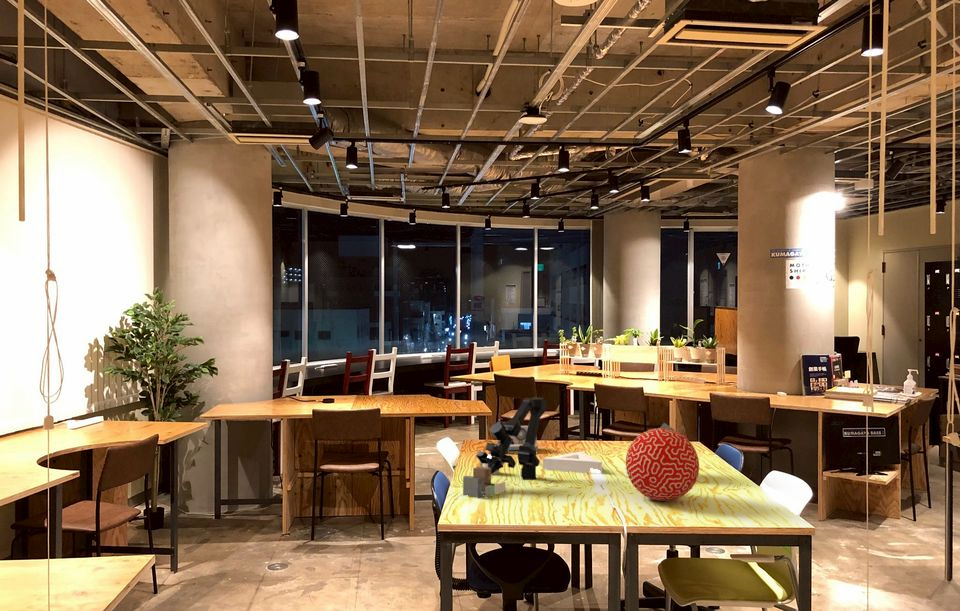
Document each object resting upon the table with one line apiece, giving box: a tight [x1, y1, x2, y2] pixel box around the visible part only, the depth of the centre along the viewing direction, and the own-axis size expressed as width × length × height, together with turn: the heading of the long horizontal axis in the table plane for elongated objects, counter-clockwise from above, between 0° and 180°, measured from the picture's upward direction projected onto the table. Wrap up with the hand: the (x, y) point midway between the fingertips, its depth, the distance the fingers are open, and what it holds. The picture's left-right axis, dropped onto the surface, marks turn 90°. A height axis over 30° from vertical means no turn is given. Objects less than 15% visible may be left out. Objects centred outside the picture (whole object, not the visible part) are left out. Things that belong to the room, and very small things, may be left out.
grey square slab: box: [462, 475, 481, 498], centre depth 308 cm, size 2×8×8 cm, turn 52°
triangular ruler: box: [542, 450, 603, 474], centre depth 370 cm, size 30×26×6 cm
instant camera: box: [508, 425, 539, 453], centre depth 415 cm, size 21×21×15 cm
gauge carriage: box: [472, 465, 496, 491], centre depth 312 cm, size 5×11×9 cm, turn 52°
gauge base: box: [481, 481, 506, 498], centre depth 313 cm, size 14×11×4 cm
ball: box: [625, 427, 700, 502], centre depth 301 cm, size 30×30×30 cm
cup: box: [478, 453, 500, 475], centre depth 354 cm, size 7×10×9 cm
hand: (487, 475), depth 317 cm, fingers closed
